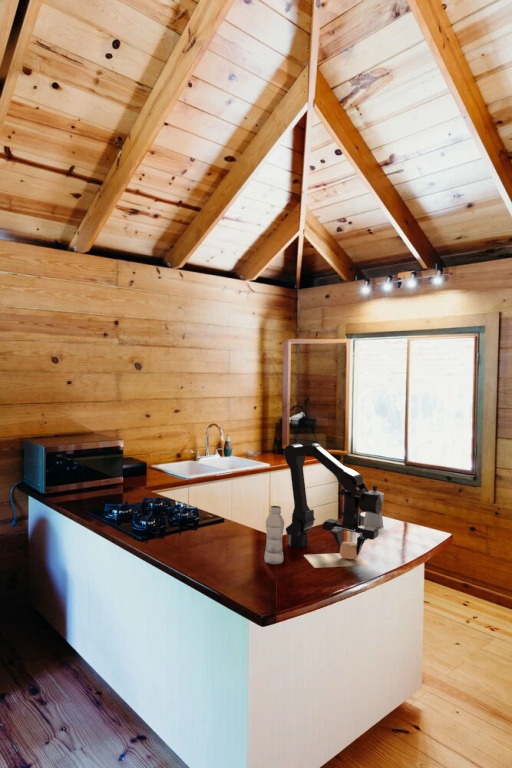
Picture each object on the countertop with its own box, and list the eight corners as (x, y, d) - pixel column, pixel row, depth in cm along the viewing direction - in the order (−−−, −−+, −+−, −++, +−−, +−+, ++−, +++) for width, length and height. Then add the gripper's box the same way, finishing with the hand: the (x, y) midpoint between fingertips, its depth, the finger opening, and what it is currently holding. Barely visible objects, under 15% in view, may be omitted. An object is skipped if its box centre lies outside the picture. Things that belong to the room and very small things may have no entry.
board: (314, 572, 167) (315, 558, 167) (303, 559, 179) (303, 545, 179) (369, 569, 172) (370, 555, 172) (355, 556, 183) (355, 543, 183)
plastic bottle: (277, 570, 168) (279, 510, 167) (260, 565, 171) (262, 507, 171) (286, 564, 173) (288, 506, 173) (269, 559, 177) (272, 503, 176)
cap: (354, 560, 172) (354, 548, 172) (337, 556, 175) (337, 545, 175) (360, 555, 177) (361, 544, 177) (344, 551, 181) (344, 540, 180)
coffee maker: (369, 520, 231) (371, 481, 231) (387, 524, 226) (389, 484, 226) (355, 527, 219) (357, 486, 219) (375, 531, 214) (376, 490, 214)
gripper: (384, 508, 178) (382, 552, 178) (335, 500, 188) (333, 541, 188) (374, 515, 168) (372, 561, 169) (323, 506, 178) (321, 549, 179)
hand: (349, 553), depth 176 cm, fingers closed on cap, 6 cm apart
